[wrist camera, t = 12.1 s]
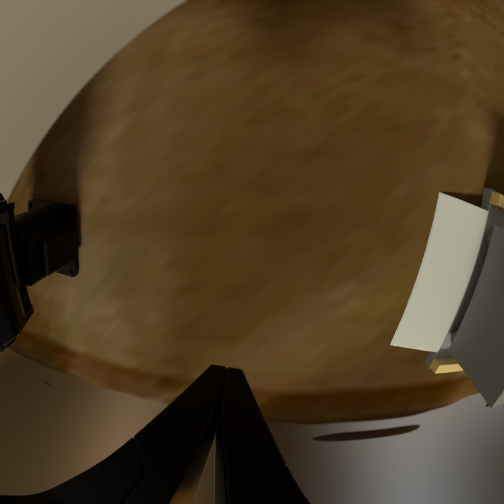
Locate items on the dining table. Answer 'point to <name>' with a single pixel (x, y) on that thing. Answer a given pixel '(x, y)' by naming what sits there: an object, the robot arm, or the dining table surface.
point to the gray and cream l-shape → (485, 326)
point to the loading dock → (448, 276)
